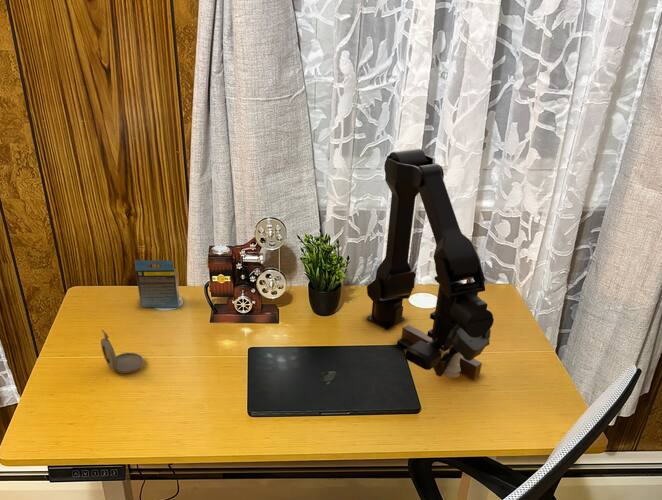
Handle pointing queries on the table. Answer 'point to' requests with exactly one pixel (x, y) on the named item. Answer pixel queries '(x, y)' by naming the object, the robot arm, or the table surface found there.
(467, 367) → the walnut rail
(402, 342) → the letter opener
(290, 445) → the table surface
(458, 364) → the rook chess piece
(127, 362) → the pocket watch
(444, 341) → the robot arm
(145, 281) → the blue product box
